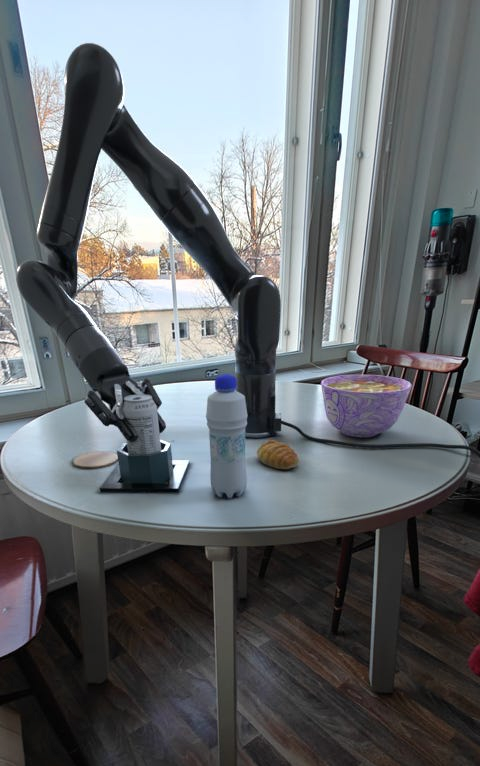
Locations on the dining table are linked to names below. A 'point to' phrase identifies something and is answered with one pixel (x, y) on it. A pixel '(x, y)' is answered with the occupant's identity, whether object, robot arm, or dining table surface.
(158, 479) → the can holder
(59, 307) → the robot arm
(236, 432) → the bottle
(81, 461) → the cork coaster
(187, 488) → the dining table surface
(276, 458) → the pastry
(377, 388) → the bowl of food
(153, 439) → the energy drink can
